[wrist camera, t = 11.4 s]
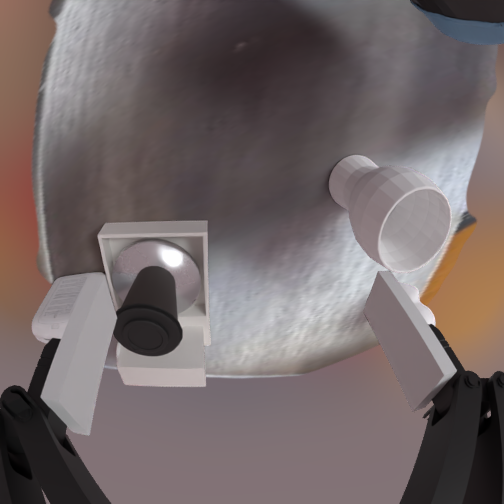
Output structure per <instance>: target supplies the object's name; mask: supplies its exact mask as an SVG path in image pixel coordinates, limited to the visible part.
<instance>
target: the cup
mask: <svg viewBox="0 0 504 504" xmlns="http://www.w3.org/2000/svg"><path fill="white" fill-rule="evenodd" d="M329 191H330V194H331V196H332V198H333V199H334V201H335V202H336V203H337V204H339V205H340V206H342V207H343V208H345V209H347V210H348V211H349V219H350V222H351V225H352V229H353V232H354V235H355V238H356V240H357V242H358V243H359V244H360V246H361V247H362V249H363V250H364V251H365V252H366V253H367V255H368V256H369V257H370V258H372V259H373V260H374V261H376V262H377V263H379V264H380V265H382V266H384V267H385V268H387V269H388V270H390V271H392V272H396V273H409V272H412V271H415V270H418V269H420V268H421V267H423V266H425V265H426V264H427V263H429V262H430V261H431V260H432V259H433V258H434V257H435V256H436V255H437V253H438V252H439V251H440V250H441V248H442V246H443V245H444V243H445V241H446V239H447V236H448V234H449V231H450V227H451V220H452V215H451V207H450V204H449V201H448V199H447V197H446V196H445V195H444V193H443V192H442V191H441V190H440V189H439V187H438V186H437V185H436V184H435V183H434V182H433V181H432V180H431V179H430V178H428V177H427V176H425V175H424V174H422V173H420V172H418V171H416V170H414V169H412V168H410V167H404V166H384V167H378V166H377V165H376V164H375V163H373V162H372V161H371V160H370V159H369V158H367V157H364V156H361V155H352V156H348V157H346V158H344V159H342V160H341V161H340V162H339V163H337V165H336V166H335V167H334V169H333V170H332V173H331V175H330V179H329Z"/></svg>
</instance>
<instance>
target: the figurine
mask: <svg viewBox="0 0 504 504" xmlns="http://www.w3.org/2000/svg"><path fill="white" fill-rule="evenodd" d="M399 283H400V285H401V286H402V288H403V289H404V290H405V292H406V293H407V294H408V296H409V297H410V299H411V300H412V302H413V303H414V304H415V306H416V307H417V309H418V310H419V312H420V313H421V315H422V316H423V318H424V319H425V321H426V322H427V324H433V325H434V326H435V317H434V315H433V313H432V311H431V310H430V309H429V308H428V307H426V306H425V305H423V304H422V303H421V302H420V300H419V291H418V289H417V288H416V287H415V286H413V285H410V284H407V283H401V282H399Z"/></svg>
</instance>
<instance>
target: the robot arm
mask: <svg viewBox="0 0 504 504" xmlns="http://www.w3.org/2000/svg"><path fill="white" fill-rule="evenodd" d="M410 1H411V3H412V4H413V5H414V6H415V7H416V8H417V9H418V10H420V11H422V12H423V13H424V14H425V15H426V17H427V18H428V19H429V20H430V21H431V22H432V23H433V24H434V25H435V27H436V28H437V29H439V30H440V31H441V32H442V33H444V34H445V35H447V36H449V37H452V38H454V39H456V40H458V41H461V42H465V43H470V44H478V45H495V44H503V43H504V0H410ZM363 312H364V314H365V316H366V318H367V320H368V322H369V324H370V325H371V327H372V329H373V331H374V333H375V335H376V337H377V339H378V341H379V343H380V345H381V347H382V349H383V351H384V353H385V355H386V357H387V359H388V361H389V363H390V365H391V367H392V369H393V371H394V373H395V375H396V377H397V379H398V382H399V384H400V386H401V388H402V390H403V392H404V394H405V396H406V399H407V401H408V403H409V405H410V407H411V410H412V411H416V410H419V409H422V408H424V407H426V406H427V404H429V402H430V401H431V400H432V401H433V403H434V405H433V406H432V407H431V408H430V409H429V410H428V411H427V412H426V413H425V414H424V416H423V418H426V417H427V416H428V415H429V414H430V415H429V418H428V423H427V427H426V431H425V434H424V437H423V441H422V444H421V447H420V451H419V454H418V457H417V460H416V463H415V466H414V468H413V471H412V474H411V477H410V479H409V482H408V484H407V487H406V490H405V492H404V495H403V497H402V499H401V501H400V504H504V373H503V372H501V371H497V372H495V373H494V374H493V375H492V376H491V377H490V378H479V377H478V375H477V374H476V373H474V372H472V371H465V370H464V368H463V366H462V365H461V363H460V362H459V360H458V358H457V357H456V355H455V353H454V352H453V350H452V349H451V347H449V344H448V342H447V341H445V338H444V336H443V335H442V333H441V332H440V331H439V330H438V329H437V328H436V327H435V326H434V325H433V324H427V322H426V321H425V319H424V318H423V316H422V315H421V313H420V312H419V310H418V309H417V307H416V306H415V304H414V303H413V302H412V300H411V299H410V297H409V296H408V294H407V293H406V292H405V290H404V289H403V288H402V286H401V285H400V283H399V282H398V281H397V279H396V278H395V277H394V275H393V274H392V273H391V271H378V273H377V276H376V278H375V281H374V284H373V287H372V289H371V292H370V295H369V297H368V300H367V302H366V305H365V307H364V310H363ZM116 320H117V315H116V312H115V309H114V305H113V302H112V299H111V295H110V292H109V288H108V285H107V281H106V277H105V275H98V274H90V276H89V278H88V280H87V282H86V284H85V286H84V288H83V290H82V293H81V295H80V297H79V299H78V301H77V303H76V306H75V308H74V310H73V312H72V314H71V317H70V319H69V321H68V324H67V326H66V328H65V331H64V333H63V336H62V338H61V339H58V338H52V339H51V340H50V341H49V342H48V343H47V344H46V345H45V347H44V349H43V352H42V354H41V359H39V361H38V364H37V367H36V369H35V372H34V375H33V377H32V380H31V383H30V386H29V389H28V392H26V391H25V389H23V388H22V387H20V386H16V385H14V386H11V387H8V388H7V389H6V390H4V392H3V393H2V395H1V398H0V408H1V409H0V504H46V502H45V499H44V496H43V492H42V490H43V491H44V493H45V495H46V497H47V499H48V500H49V502H50V504H111V503H110V501H109V500H108V499H107V498H106V496H105V495H104V493H103V492H102V490H101V489H100V488H99V486H98V485H97V483H96V482H95V480H94V479H93V477H92V476H91V474H90V473H89V471H88V470H87V468H86V467H85V465H84V463H83V462H82V460H81V459H80V457H79V455H78V453H77V452H76V450H75V448H74V446H73V445H72V443H71V441H70V439H69V438H68V436H67V435H66V428H67V427H68V428H69V429H70V430H71V431H72V432H74V433H79V434H85V435H90V430H91V424H92V419H93V413H94V408H95V404H96V398H97V394H98V390H99V385H100V381H101V376H102V372H103V368H104V364H105V360H106V356H107V352H108V349H109V345H110V341H111V338H112V334H113V331H114V327H115V324H116ZM490 410H491V416H490V417H489V418H488V417H487V413H488V412H489V411H490ZM41 488H42V489H41Z"/></svg>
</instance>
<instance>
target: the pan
mask: <svg viewBox="0 0 504 504" xmlns="http://www.w3.org/2000/svg"><path fill="white" fill-rule="evenodd" d="M148 266H159V267H162V268H165V269H166V270H168V271H169V272H170V273H171V274H172V275H173V277H174V279H175V283H176V300H177V314H179V313H182V312H183V311H185V310H187V309H188V308H189V307H191V306H192V305H193V303H194V302H195V301H196V299H197V297H198V295H199V293H200V288H201V275H200V270H199V267H198V265H197V263H196V261H195V260H194V258H193V257H192V256H191V255H190V254H189V253H188V252H187V251H186V250H185V249H184V248H182V247H181V246H179V245H177V244H175V243H173V242H170V241H167V240H163V239H155V238H150V239H143V240H139V241H136V242H134V243H132V244H130V245H128V246H127V247H126V248H125V249H123V250H122V252H121V253H120V254H119V256H118V258H117V260H116V262H115V264H114V267H113V272H112V280H113V284H114V288H115V290H116V292H117V294H118V295H119V297H120V298H121V299H122V300H123V301H124V300H125V298H126V296H127V294H128V292H129V290H130V288H131V286H132V284H133V282H134V280H135V278H136V276H137V274H138V273H139V272H140V270H142V269H143V268H145V267H148Z"/></svg>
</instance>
